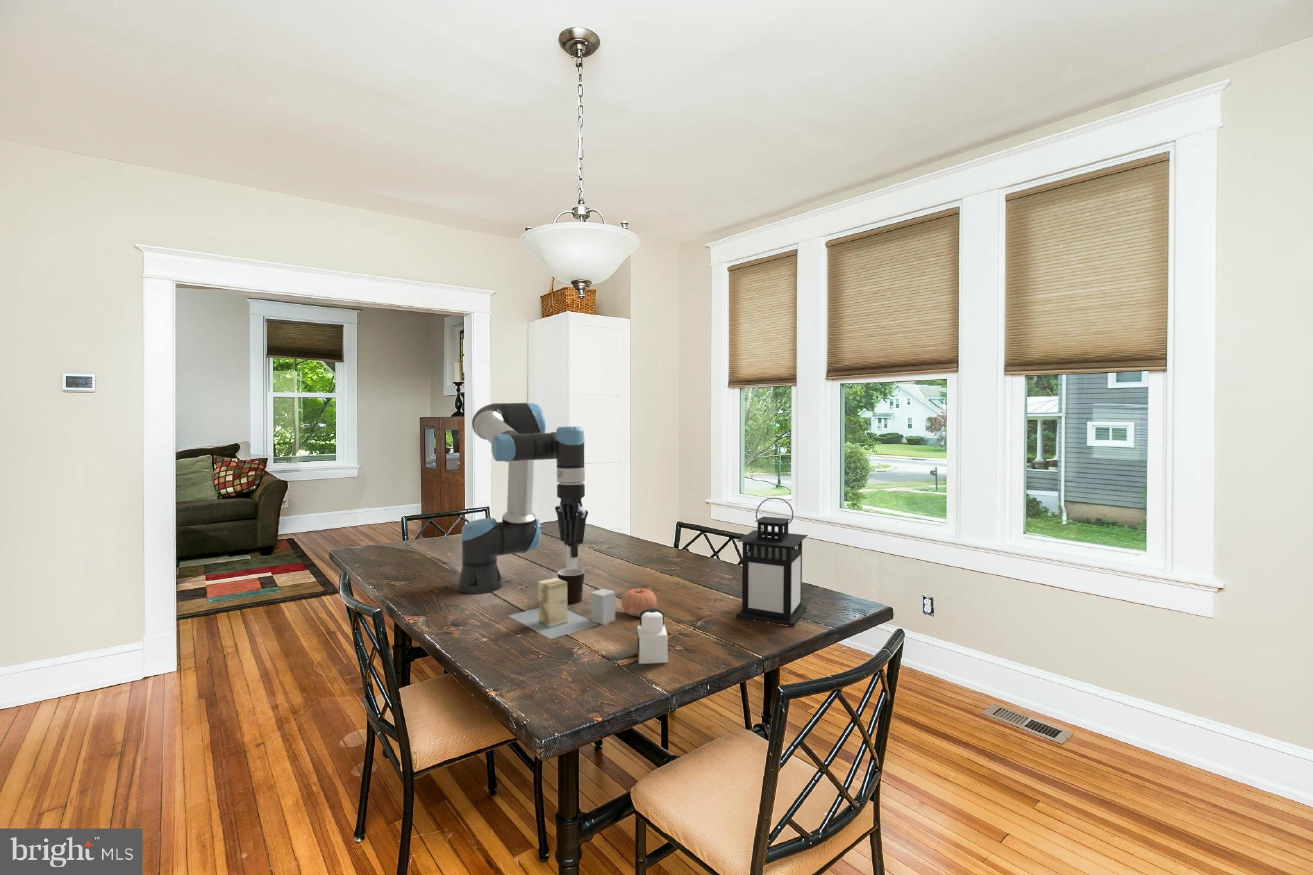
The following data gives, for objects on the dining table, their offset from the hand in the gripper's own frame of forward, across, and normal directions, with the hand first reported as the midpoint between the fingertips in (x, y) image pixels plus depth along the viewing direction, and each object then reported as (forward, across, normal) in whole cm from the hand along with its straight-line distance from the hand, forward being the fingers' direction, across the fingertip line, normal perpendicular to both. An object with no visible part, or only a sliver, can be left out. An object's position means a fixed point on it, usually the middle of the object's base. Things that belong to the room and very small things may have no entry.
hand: (572, 568), depth 167 cm
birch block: (+18, -10, 0) cm, 21 cm away
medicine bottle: (+19, +26, +7) cm, 33 cm away
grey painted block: (+19, -2, +12) cm, 22 cm away
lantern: (+19, +26, +55) cm, 64 cm away
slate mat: (+19, -12, +1) cm, 22 cm away
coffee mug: (+19, -24, +16) cm, 35 cm away
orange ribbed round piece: (+19, 0, +24) cm, 31 cm away
